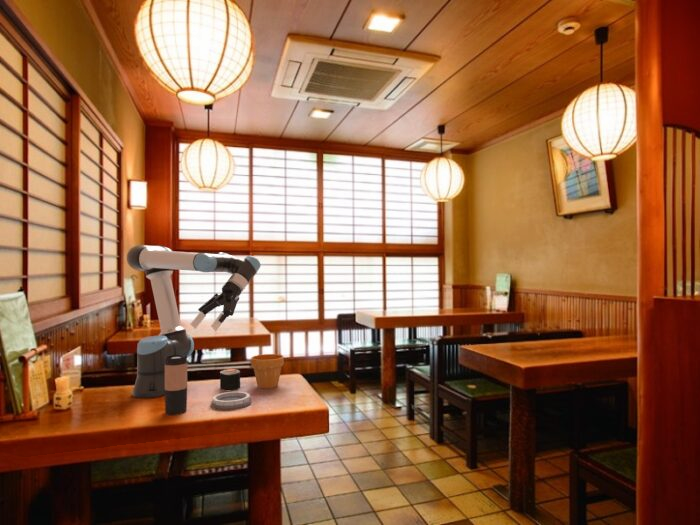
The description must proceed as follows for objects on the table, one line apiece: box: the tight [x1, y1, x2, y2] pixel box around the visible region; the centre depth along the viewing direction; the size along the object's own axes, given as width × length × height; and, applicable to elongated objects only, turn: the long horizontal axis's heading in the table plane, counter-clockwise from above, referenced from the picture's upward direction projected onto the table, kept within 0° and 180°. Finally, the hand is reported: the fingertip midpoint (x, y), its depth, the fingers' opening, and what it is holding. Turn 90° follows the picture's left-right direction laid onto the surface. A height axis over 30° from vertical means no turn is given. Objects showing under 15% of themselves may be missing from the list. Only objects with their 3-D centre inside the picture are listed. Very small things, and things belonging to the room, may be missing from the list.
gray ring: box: [210, 391, 252, 411], centre depth 165 cm, size 15×15×3 cm
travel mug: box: [164, 355, 188, 416], centre depth 156 cm, size 8×8×20 cm
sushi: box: [219, 368, 241, 391], centre depth 189 cm, size 8×8×8 cm
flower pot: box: [250, 353, 285, 389], centre depth 191 cm, size 14×14×13 cm
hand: (203, 327), depth 165 cm, fingers open, 13 cm apart
